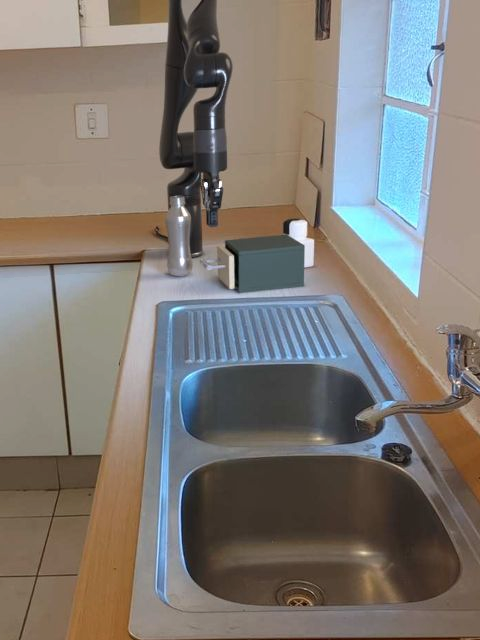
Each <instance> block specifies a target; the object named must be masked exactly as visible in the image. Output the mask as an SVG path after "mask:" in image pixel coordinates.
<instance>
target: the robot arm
mask: <svg viewBox="0 0 480 640" xmlns="http://www.w3.org/2000/svg"><path fill="white" fill-rule="evenodd" d="M217 8H218V0H200V1H199V3H198V4H197V5H196V6H195V8H194V9H193V11H192V12H191V13H190V15H189V17H188V19H187V20H186V18H185V15H184V14H185V13H184V11H183V7H182V0H167V36H166V37H167V38H166V52H165V62H164V63H165V64H164V94H163V95H164V96H163V101H164V102H163V112H162V121H161V128H160V134H159V135H160V136H159V144H158V146H159V147H158V154H159V161H160V164H161V166H162V168H163V169H165V170H179V169H183V172H182V173H181V174H180V175H179V176H178V177H177V178H175V179H173V180H171V181H170V182H168V184H167V186H166V192H167V212H168V211H169V209H170V208H171V205H170V197H171V196H184V198H185V204H184V207H185V208H186V209H187V210H188V212H189V213H190V216H191V225H190V238H189V240H190V243H189V244H190V253H191V258H192V259H193V258H197V257H200V256H202V255H203V254H204V249H203V219H202V206H204V209H205V218H206V221H205V223H206V225H207V226H208V227H209V228H217V227H218V226H219V210H221V208H222V201H223V194H224V188H223V186H222V179H221V178H220V172H225V171H227V170H228V138H227V130H226V104H227V97H228V92H229V87H230V84H231V79H232V76H233V69H234V66H233V61H232V58H231V56H230V55H229V54H228V53H226V52H223V51H220V50H221V40H220V34H219V27H218V20H217V19H218V18H217V15H218V14H217V13H218V12H217V11H218V9H217ZM213 88H214V89H215V91H214V93H213V94H212V95H211V96H210V97H207V98H204V99H201V100H198V101H196V102H195V103H194V104H193V108H192V109H193V110H192V112H193V131H185V132H183V131H182V132H179V126H180V122H181V121H182V120H181V119H182V117H183V115H184V113H185V112H186V110H187V108H188V107H189V106H190V104H191V102H192V101H193V99H194V97H195V95H196V94H197V92H198V90H199V89H200V90H201V89H213ZM202 204H203V205H202ZM158 227H159V226H158V225H156V227H155V235H157V236H158V237H160V238H163V239H165V240H167V241H169V240H168V235H164V234H161V233H159V230H160V227H159V228H158ZM156 229H158V231H156Z"/></svg>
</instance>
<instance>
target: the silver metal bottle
mask: <svg viewBox="0 0 480 640" xmlns="http://www.w3.org/2000/svg"><path fill="white" fill-rule="evenodd" d="M184 204H185V198H184V196H171V197H170V205H171V208H170V209H169V211H168V210H167V212H166V214H165V218H164V219H165V227H166V232H167V237H168V240H167V241H168V251H167V252H168V253H167V260H166V268H167V272H168V273H169V275H171V276H175V277H176V276H177V277H183V276H188V275H190V274H191V273H192V271H193V266H194V265H193V257H192V258H191V253H190V244H189V243H190V240H189V238H190V225H191V216H190V213H189V212H188V210H187V209H186V208H185V207H184Z"/></svg>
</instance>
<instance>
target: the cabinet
mask: <svg viewBox="0 0 480 640" xmlns="http://www.w3.org/2000/svg"><path fill="white" fill-rule="evenodd" d="M228 247H230V248H231V249H232V250H233V251H234V252H235V253H237V254H238V284H237V283H236V282H235V281H234V289H235V290H236V291H237V292H238V293H240V294H241V293H250V292H251V293H252V292H259V291H260V292H261V291H269V290H279V289H290V288H297V287H298V288H300V287H304V286H305V268H304V256H305V245H303V244H301V243H300V242H298V241H297V240H295V239H293V238H292V237H290V236H288V235H287V234H286V235H283V234H277V235H266V236H265V235H264V236H256V237H246V238H233V239H226V240H224V248H226V249H227V250H228Z"/></svg>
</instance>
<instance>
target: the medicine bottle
mask: <svg viewBox="0 0 480 640" xmlns="http://www.w3.org/2000/svg"><path fill="white" fill-rule="evenodd" d="M286 234H287V235H288V236H290V237H292V238H293V239H295V240H297V241H298V242H300V243H301V244H303V245H305V256H304V269H306V268H311V267H314V265H315V264H314V262H315V261H314V260H315V239H314V238H310V237H307V236H308V221H307V220H306V219H303V218H288V219H286V220H284V221H283V223H282V235H286Z"/></svg>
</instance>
